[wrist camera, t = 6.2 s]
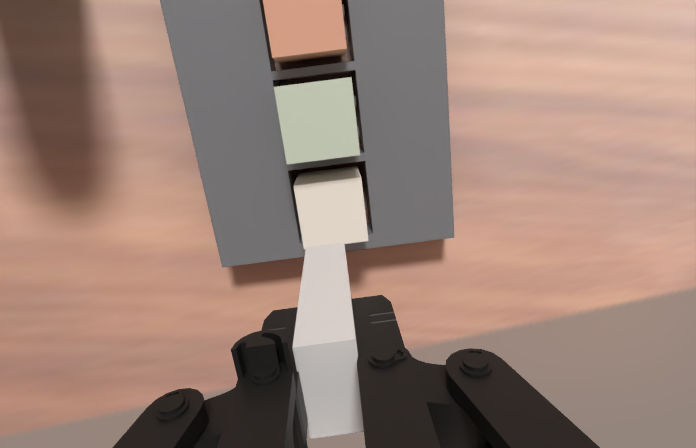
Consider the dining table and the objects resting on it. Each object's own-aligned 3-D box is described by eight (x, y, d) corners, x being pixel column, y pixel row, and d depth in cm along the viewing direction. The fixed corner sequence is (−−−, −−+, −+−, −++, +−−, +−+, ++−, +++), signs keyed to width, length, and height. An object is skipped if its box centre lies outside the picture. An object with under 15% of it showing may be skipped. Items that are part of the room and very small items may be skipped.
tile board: (230, 253, 30) (222, 267, 28) (169, -20, 25) (152, -32, 23) (444, 226, 31) (454, 237, 28) (430, -53, 25) (440, -68, 23)
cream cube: (307, 228, 29) (303, 249, 25) (298, 173, 28) (293, 185, 24) (365, 221, 29) (370, 240, 25) (358, 165, 28) (363, 176, 24)
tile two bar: (293, 154, 26) (286, 164, 22) (282, 87, 25) (273, 86, 21) (357, 145, 26) (362, 154, 22) (350, 79, 25) (354, 76, 21)
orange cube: (280, 63, 26) (272, 58, 22) (269, -9, 25) (258, -28, 21) (346, 54, 26) (349, 48, 22) (338, -17, 25) (339, -38, 21)
